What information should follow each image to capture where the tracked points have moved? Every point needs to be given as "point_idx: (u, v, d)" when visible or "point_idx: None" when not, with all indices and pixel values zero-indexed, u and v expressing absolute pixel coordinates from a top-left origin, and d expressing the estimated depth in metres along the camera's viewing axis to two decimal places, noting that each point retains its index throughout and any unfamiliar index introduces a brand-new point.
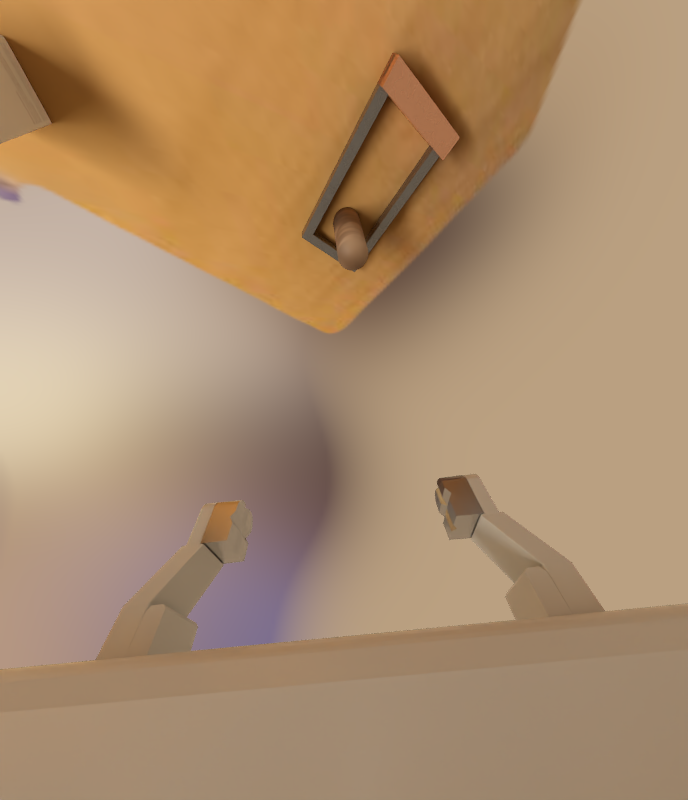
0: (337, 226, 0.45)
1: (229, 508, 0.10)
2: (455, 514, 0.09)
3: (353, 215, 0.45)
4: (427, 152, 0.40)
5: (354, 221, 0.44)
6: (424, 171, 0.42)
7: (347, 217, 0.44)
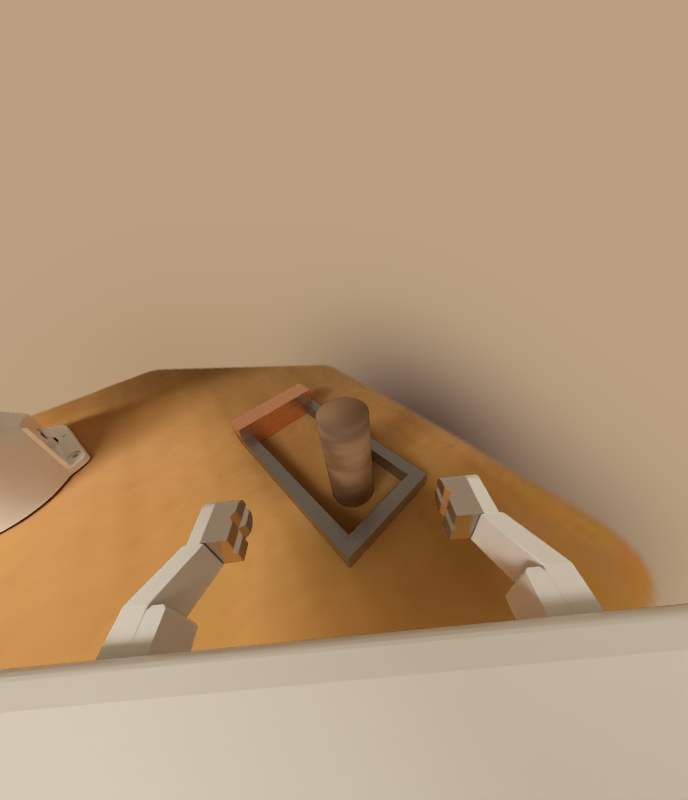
0: (332, 476, 0.27)
1: (229, 508, 0.10)
2: (455, 514, 0.09)
3: None
4: (308, 409, 0.43)
5: None
6: (318, 406, 0.41)
7: None
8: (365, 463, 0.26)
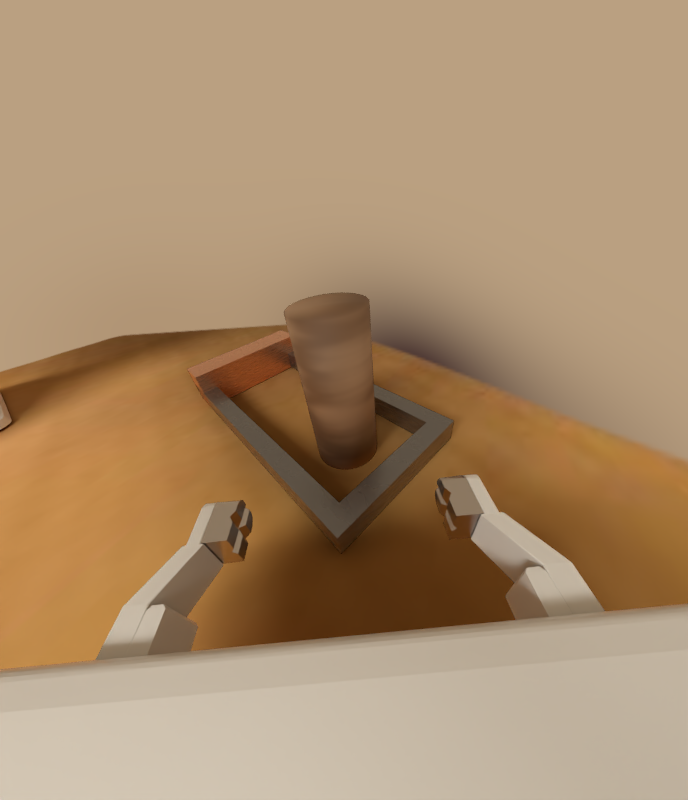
0: (315, 417, 0.18)
1: (229, 508, 0.10)
2: (455, 514, 0.09)
3: None
4: (292, 361, 0.34)
5: None
6: None
7: None
8: (364, 392, 0.17)
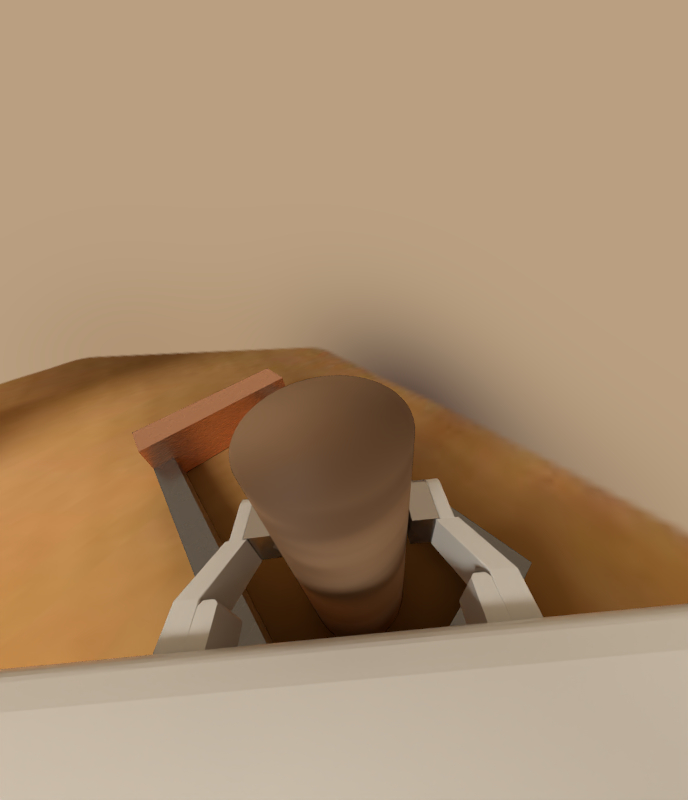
0: (302, 588, 0.10)
1: None
2: (411, 519, 0.09)
3: None
4: None
5: None
6: None
7: None
8: (394, 568, 0.09)
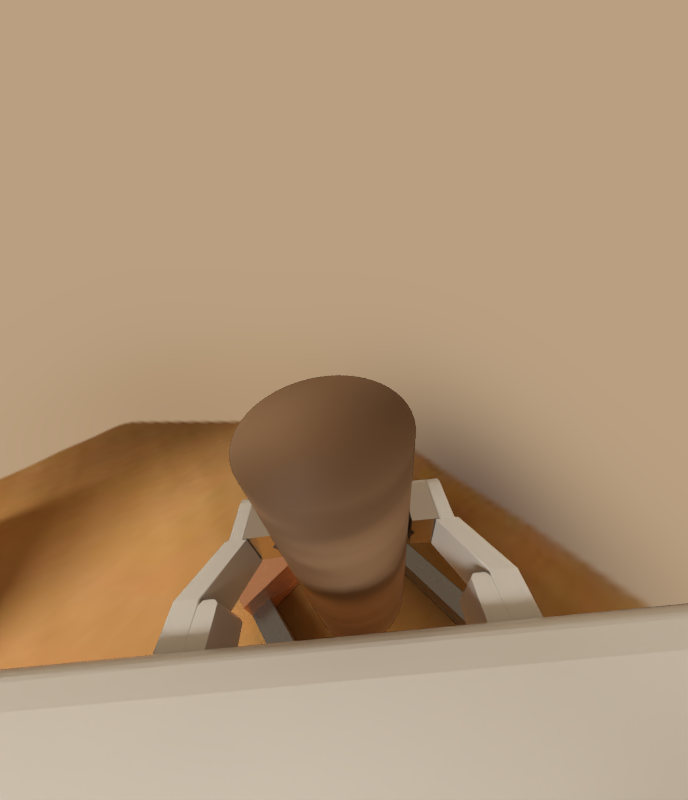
0: (302, 588, 0.10)
1: None
2: (411, 519, 0.09)
3: None
4: None
5: None
6: None
7: None
8: (394, 568, 0.09)
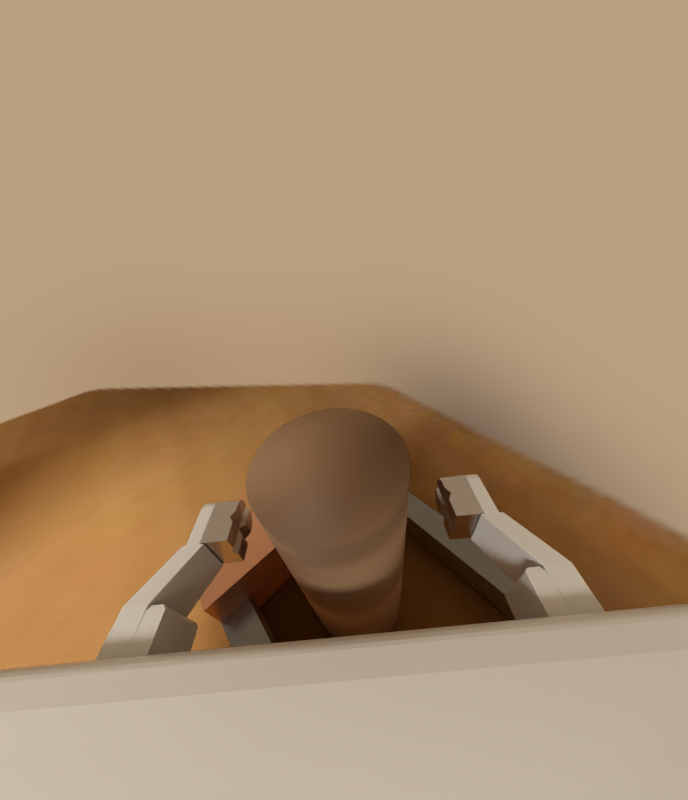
0: (308, 600, 0.11)
1: (229, 508, 0.10)
2: (455, 514, 0.09)
3: None
4: None
5: None
6: None
7: None
8: (392, 584, 0.10)
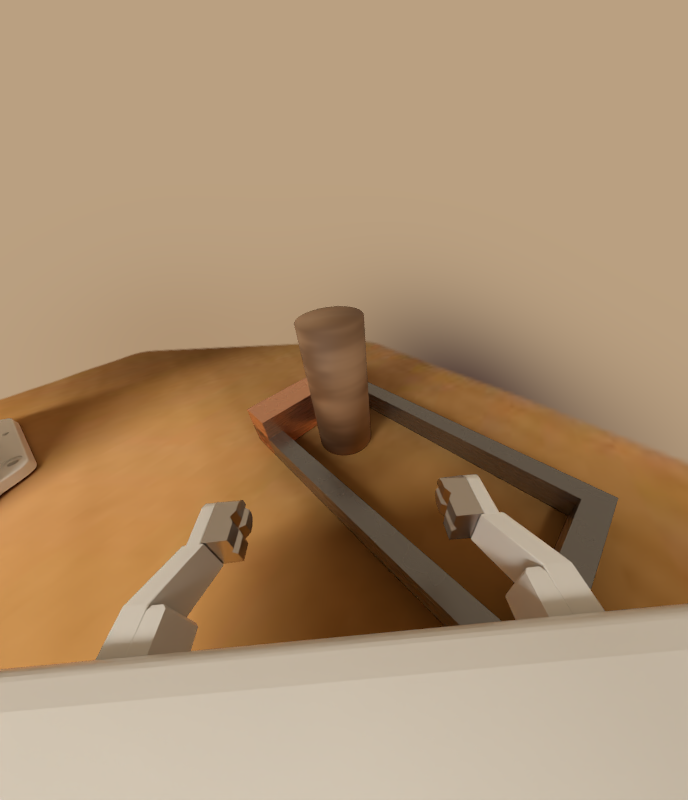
0: (318, 410, 0.22)
1: (229, 508, 0.10)
2: (455, 514, 0.09)
3: None
4: None
5: None
6: (376, 389, 0.28)
7: None
8: (359, 389, 0.20)
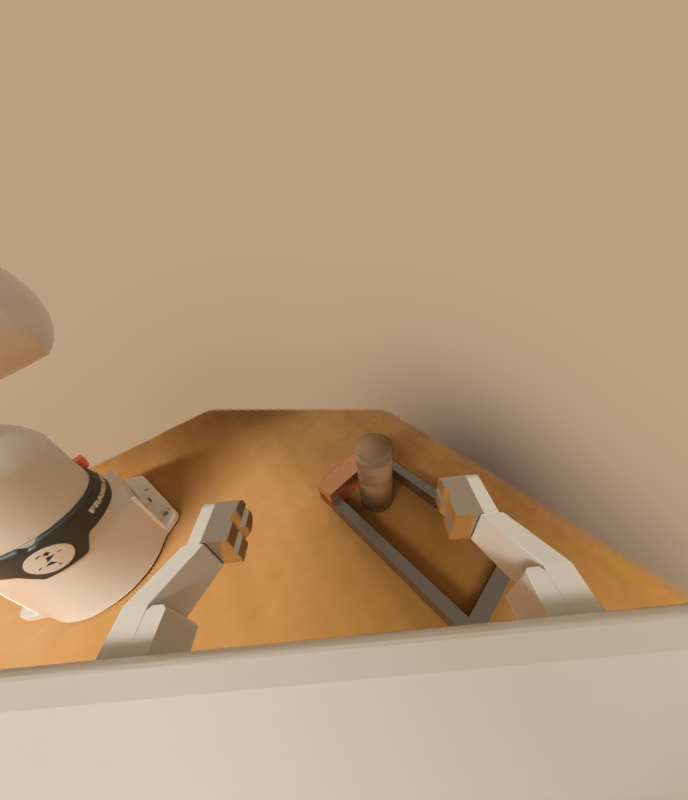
0: (363, 489, 0.37)
1: (229, 508, 0.10)
2: (455, 514, 0.09)
3: None
4: None
5: None
6: (394, 464, 0.43)
7: None
8: (388, 480, 0.36)
